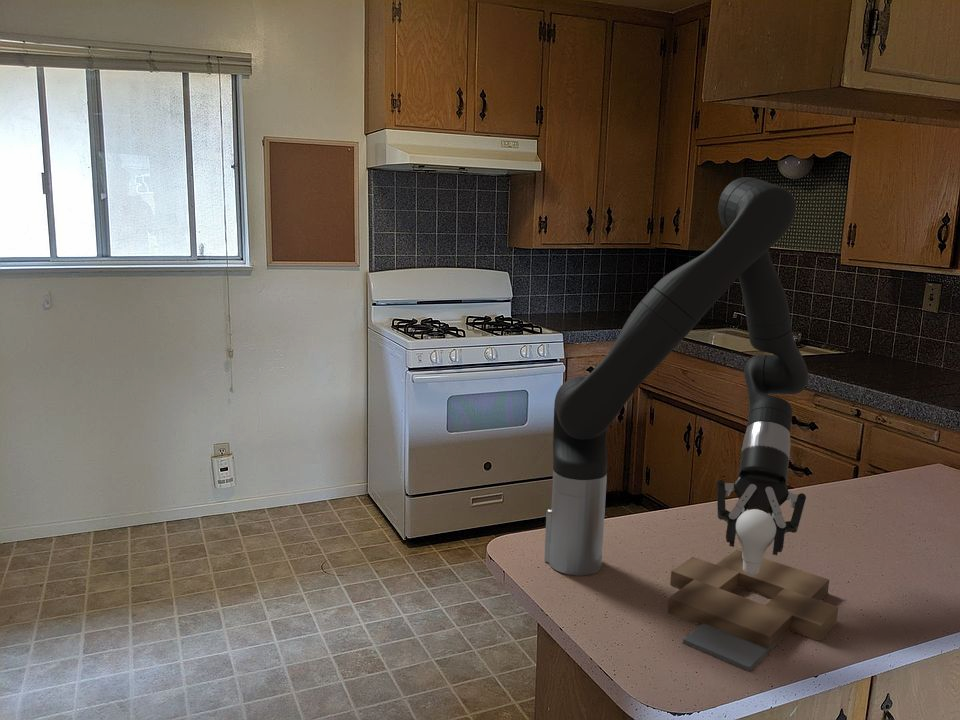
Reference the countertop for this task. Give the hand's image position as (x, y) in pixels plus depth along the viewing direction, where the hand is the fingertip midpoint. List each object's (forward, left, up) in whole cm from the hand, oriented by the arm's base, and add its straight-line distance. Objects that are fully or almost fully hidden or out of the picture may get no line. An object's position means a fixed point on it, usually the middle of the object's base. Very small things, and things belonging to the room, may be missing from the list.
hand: (753, 548), depth 122 cm
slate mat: (+3, -12, -10) cm, 16 cm away
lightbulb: (-1, +2, -5) cm, 6 cm away
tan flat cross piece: (0, +2, -10) cm, 10 cm away
